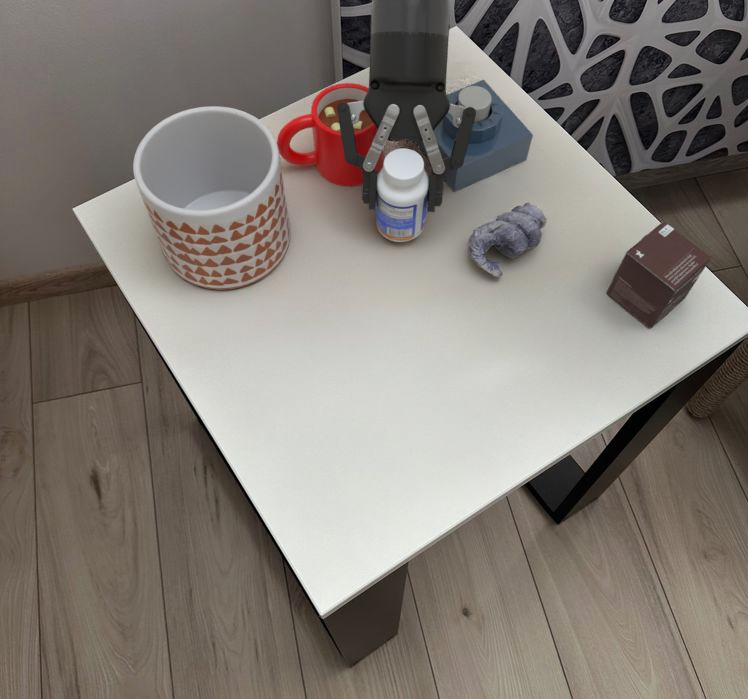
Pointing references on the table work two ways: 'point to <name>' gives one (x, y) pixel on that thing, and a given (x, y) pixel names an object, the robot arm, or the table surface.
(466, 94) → the grey short cylinder
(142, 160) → the planter
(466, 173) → the button housing
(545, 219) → the seashell
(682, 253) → the box
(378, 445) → the table surface
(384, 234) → the pill bottle
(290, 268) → the table surface
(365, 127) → the mug
